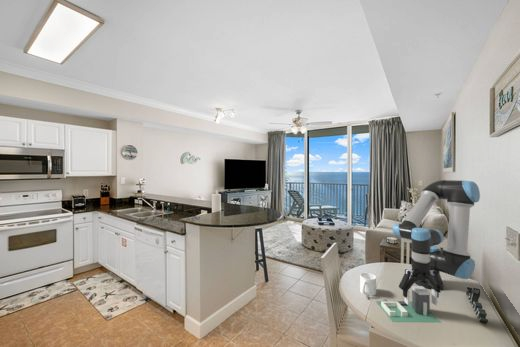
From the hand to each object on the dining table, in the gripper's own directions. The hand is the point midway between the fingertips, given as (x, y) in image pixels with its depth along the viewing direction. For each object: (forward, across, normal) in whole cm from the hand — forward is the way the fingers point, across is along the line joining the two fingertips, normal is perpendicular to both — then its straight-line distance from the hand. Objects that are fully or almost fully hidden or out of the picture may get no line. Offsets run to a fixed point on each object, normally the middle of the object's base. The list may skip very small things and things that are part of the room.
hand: (420, 303), depth 109 cm
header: (+4, +13, 0) cm, 13 cm away
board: (+5, +7, 0) cm, 8 cm away
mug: (+5, +19, -16) cm, 25 cm away
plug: (+4, 0, 0) cm, 4 cm away
